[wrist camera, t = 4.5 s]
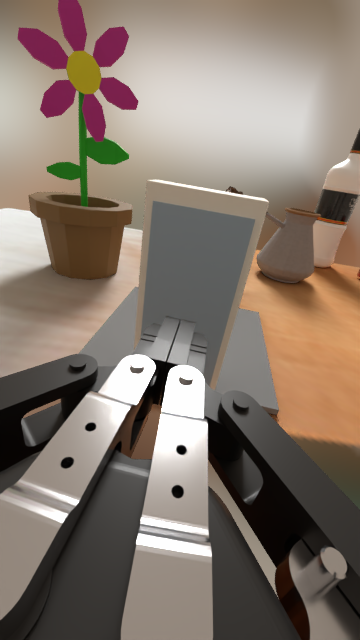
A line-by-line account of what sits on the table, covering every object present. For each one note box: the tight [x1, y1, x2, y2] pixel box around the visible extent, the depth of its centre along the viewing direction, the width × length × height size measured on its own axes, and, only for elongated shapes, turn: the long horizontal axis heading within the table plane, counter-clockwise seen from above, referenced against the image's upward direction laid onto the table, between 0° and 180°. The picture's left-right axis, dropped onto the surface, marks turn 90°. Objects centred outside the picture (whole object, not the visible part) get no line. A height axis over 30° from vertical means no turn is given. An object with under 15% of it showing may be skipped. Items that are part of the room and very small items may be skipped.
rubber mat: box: [79, 287, 279, 415], centre depth 30 cm, size 18×18×1 cm
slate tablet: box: [134, 180, 269, 390], centre depth 20 cm, size 7×3×15 cm, turn 81°
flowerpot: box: [18, 0, 138, 280], centre depth 37 cm, size 14×14×30 cm
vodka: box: [313, 129, 360, 268], centre depth 63 cm, size 9×9×30 cm
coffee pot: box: [225, 186, 321, 283], centre depth 51 cm, size 21×12×15 cm, turn 98°
